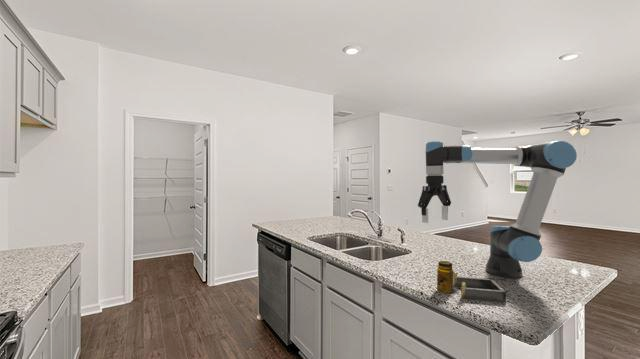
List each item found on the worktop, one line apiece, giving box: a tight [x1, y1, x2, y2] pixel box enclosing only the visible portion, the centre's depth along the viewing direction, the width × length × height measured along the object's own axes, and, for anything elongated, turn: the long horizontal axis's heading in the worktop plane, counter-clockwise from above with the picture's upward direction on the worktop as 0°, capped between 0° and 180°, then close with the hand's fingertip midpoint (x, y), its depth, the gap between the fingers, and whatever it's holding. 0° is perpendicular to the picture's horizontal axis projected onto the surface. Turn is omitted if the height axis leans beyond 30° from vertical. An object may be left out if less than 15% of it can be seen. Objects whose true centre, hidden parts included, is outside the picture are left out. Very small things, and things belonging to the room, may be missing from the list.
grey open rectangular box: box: [453, 271, 507, 303], centre depth 116 cm, size 16×14×6 cm
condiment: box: [433, 260, 459, 297], centre depth 118 cm, size 7×8×12 cm
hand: (435, 221), depth 132 cm, fingers open, 13 cm apart
